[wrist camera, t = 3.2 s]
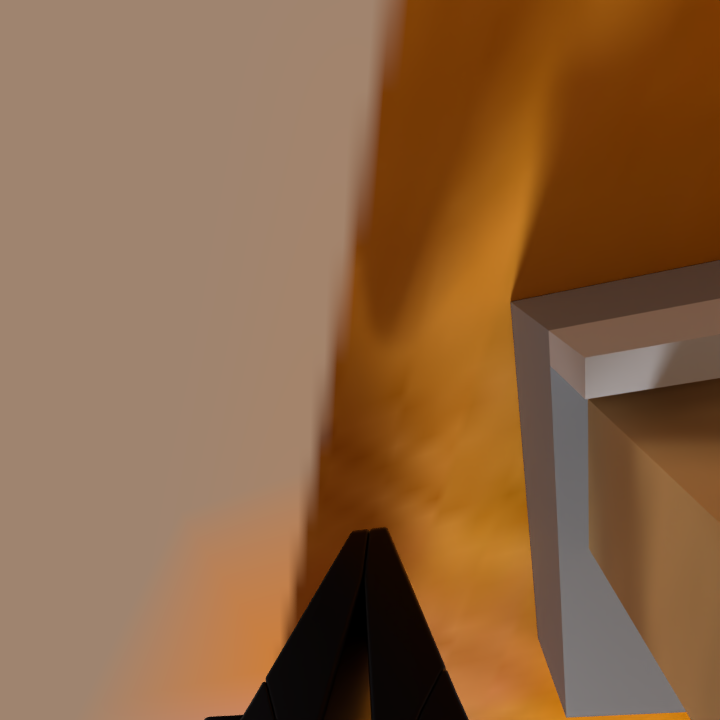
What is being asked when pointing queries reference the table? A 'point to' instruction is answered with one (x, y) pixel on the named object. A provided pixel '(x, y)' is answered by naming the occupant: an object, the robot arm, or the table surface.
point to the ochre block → (663, 526)
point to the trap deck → (570, 463)
